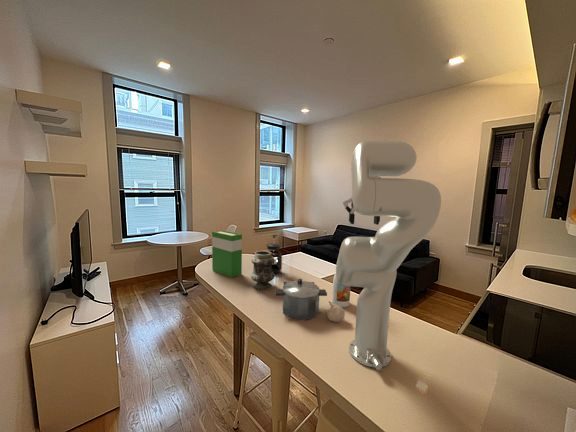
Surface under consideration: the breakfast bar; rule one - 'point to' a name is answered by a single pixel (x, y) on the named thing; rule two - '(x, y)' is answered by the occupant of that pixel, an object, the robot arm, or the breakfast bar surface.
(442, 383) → the breakfast bar surface
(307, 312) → the cooker pot
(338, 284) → the milk bottle
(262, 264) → the grey rounded vessel
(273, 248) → the french press
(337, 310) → the garlic bulb
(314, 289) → the cooker lid
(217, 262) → the green tissue carton
